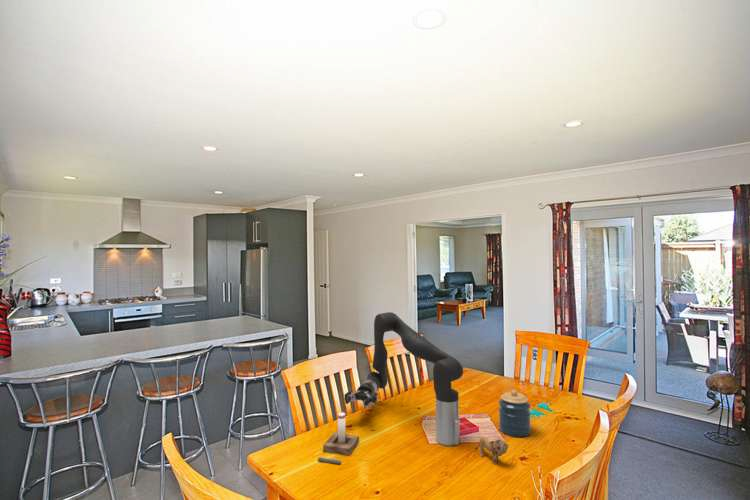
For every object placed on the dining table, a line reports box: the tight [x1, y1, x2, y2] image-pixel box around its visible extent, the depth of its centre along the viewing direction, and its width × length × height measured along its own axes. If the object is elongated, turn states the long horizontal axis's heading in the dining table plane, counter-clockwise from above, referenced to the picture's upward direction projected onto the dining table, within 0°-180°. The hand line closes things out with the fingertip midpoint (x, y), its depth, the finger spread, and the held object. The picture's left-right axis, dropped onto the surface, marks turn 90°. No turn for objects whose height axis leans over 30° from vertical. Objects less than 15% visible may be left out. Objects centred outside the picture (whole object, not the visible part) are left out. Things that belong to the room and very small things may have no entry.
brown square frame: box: [322, 432, 360, 456], centre depth 153 cm, size 11×11×2 cm
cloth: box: [529, 401, 553, 418], centre depth 187 cm, size 26×14×2 cm, turn 122°
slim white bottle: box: [337, 411, 346, 445], centre depth 153 cm, size 3×3×13 cm
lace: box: [317, 456, 342, 465], centre depth 141 cm, size 9×1×1 cm, turn 73°
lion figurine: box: [473, 435, 510, 465], centre depth 144 cm, size 15×5×9 cm, turn 37°
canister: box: [498, 389, 532, 438], centre depth 166 cm, size 13×13×18 cm
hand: (356, 402), depth 164 cm, fingers open, 8 cm apart
